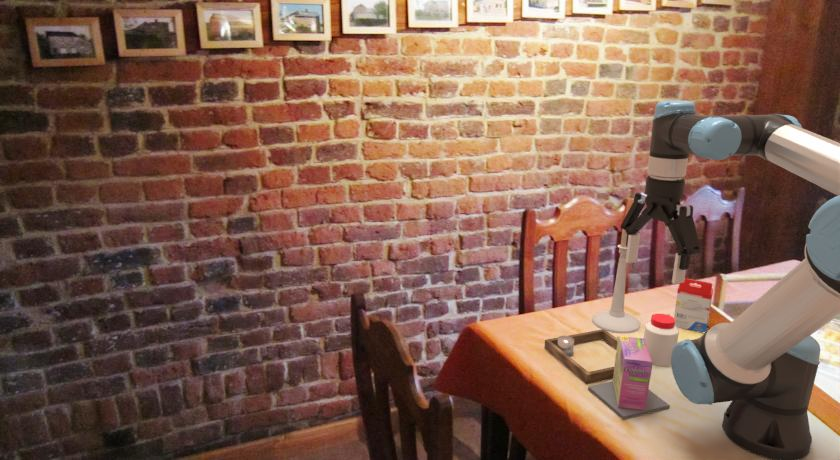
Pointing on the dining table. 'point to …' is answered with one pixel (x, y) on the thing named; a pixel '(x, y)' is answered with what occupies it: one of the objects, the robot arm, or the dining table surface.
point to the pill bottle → (661, 338)
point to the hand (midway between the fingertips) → (653, 271)
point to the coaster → (609, 398)
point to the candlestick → (618, 301)
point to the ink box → (693, 305)
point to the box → (632, 373)
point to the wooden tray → (573, 365)
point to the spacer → (566, 344)
